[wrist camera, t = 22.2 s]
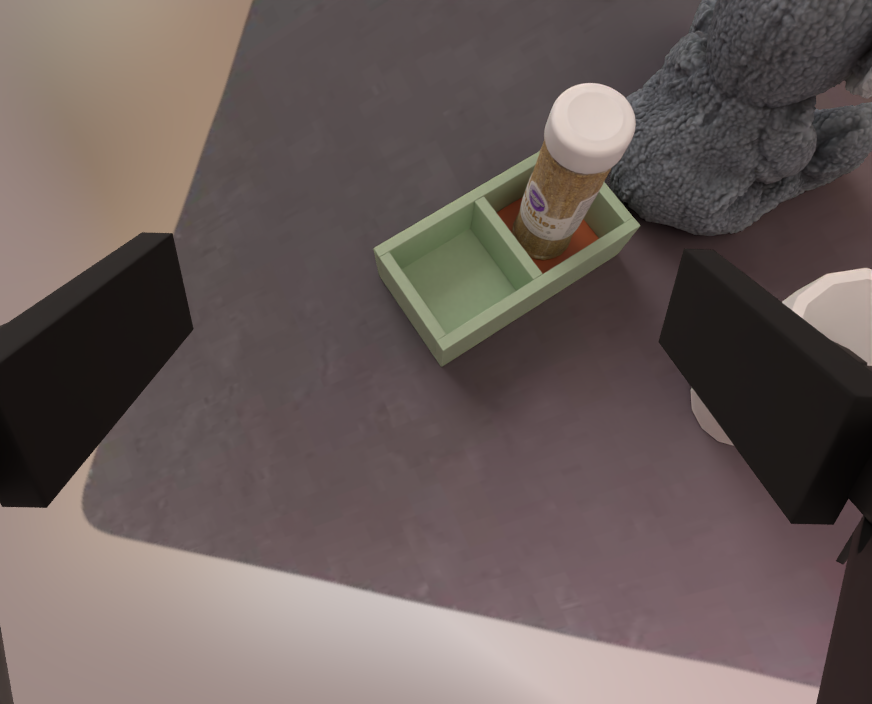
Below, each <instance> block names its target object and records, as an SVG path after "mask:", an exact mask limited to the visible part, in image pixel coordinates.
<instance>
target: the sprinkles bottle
mask: <svg viewBox="0 0 872 704" xmlns="http://www.w3.org/2000/svg"><path fill="white" fill-rule="evenodd" d="M635 127H636V120H635V114H634V111H633V109H632V107H631V105H630V103H629V102H628V101H627V99H626V98H625V97H624V96H623V95H622V94H620V93H619V92H617V91H616V90H614V89H612V88H610V87H608V86H605V85H602V84H596V83H585V84H580V85H576V86H573V87H571V88H569V89H567V90H566V91H564V92H563V93H562V94H561V95H560V96H559V97H558V98H557V100H556V101H555V103H554V105H553V107H552V109H551V112H550V115H549V117H548V120H547V123H546V126H545V132H544V138H545V140H544V142H543V145H542V148H541V150H540V153H539V156H538V159H537V162H536V165H535V167H534V171H533V173H532V175H531V177H530V179H529V182H528V184H527V187H526V190H525V193H524V196H523V199H522V202H521V208H520V210H519V213H518V215H517V217H516V219H515V221H514V223H513V227H512V233H513V235H514V237H515V238H516V239H517V241H518V242H519V243H520V245H521V246H522V247H523V249H524V250H525V251H526V252H527V254H528V255H529V256H530V257H531V258H534V259H537V260H539V259H540V260H547V259H552V258H555V257H557V256H559V255H561V254H562V253H563V252H564V251H565V250H566V249H567V247H568V246H569V244H570V241H571V237H572V236H573V234H574V232H575V231H576V230H577V229H578V227H579V225H580V224H581V222H582V220H583V218H584V217H585V215H586V213H587V211H588V209H589V208H590V206H591V204H592V203H593V201H594V199H595V198H596V196H597V194H598V193H599V191H600V189H601V187H602V185H603V183H604V180H605V179H606V177H607V175H608V174H609V172H610V170H611V168H612V167H613V166H614V165H616V164H617V163H618V161H619V160H620V159H621V158H622V156H623V154H624V153H625V151H626V149H627V147H628V145H629V144H630V142H631V140H632V138H633V135H634V132H635Z"/></svg>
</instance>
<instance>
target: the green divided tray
mask: <svg viewBox="0 0 872 704" xmlns="http://www.w3.org/2000/svg"><path fill="white" fill-rule="evenodd" d="M539 153H540V151H539V152H537V153H536V154H534V155H532V156H530V157H529V158H527V159H525V160H524V161H522V162H520V163H518V164H517V165H515V166H513V167H512V168H510V169H508V170H507V171H505V172H503V173H501V174H500V175H498V176H496V177H495V178H493V179H491V180H489V181H488V182H486V183H484V184H483V185H481V186H479V187H477V188H476V189H474V190H472V191H471V192H469V193H467V194H466V195H464V196H462V197H460V198H459V199H457V200H455V201H454V202H452V203H450V204H448V205H447V206H445V207H443V208H442V209H440V210H438V211H437V212H435V213H433V214H431V215H430V216H428V217H426V218H425V219H423V220H421V221H419V222H418V223H416V224H414V225H413V226H411V227H409V228H407V229H406V230H404V231H402V232H401V233H399V234H397V235H396V236H394V237H392V238H390V239H389V240H387V241H385V242H384V243H382V244H380V245H378V246H377V247H375V248H374V249H373V250H374V254H375V259H376V264H377V268H378V273H379V276H380V278H381V279H382V281H383V282H384V284H385V285H386V287H387V288H388V289H389V291H390V292H391V294H392V295H393V297H394V298H395V300H396V301H397V303H398V304H399V306H400V307H401V309H402V310H403V312H404V313H405V315H406V316H407V317H408V319H409V320H410V322H411V323H412V325H413V326H414V328H415V329H416V331H417V332H418V334H419V335H420V337H421V338H422V340H423V341H424V343H425V344H426V345H427V347H428V348H429V350H430V351H431V353H432V354H433V356H434V357H435V359H436V360H437V362H438V363H439V365H440V366H441V367H443V366H444V365H446V364H447V363H449V362H450V361H452V360H453V359H455V358H457V357H458V356H460V355H461V354H463V353H464V352H466V351H468V350H469V349H471V348H472V347H474V346H475V345H477V344H478V343H480V342H482V341H483V340H485V339H486V338H488V337H489V336H491V335H493V334H494V333H496V332H497V331H499V330H500V329H502V328H503V327H505V326H507V325H508V324H510V323H511V322H513V321H514V320H516V319H518V318H519V317H521V316H522V315H524V314H525V313H527V312H528V311H530V310H532V309H533V308H535V307H536V306H538V305H539V304H541V303H542V302H544V301H546V300H547V299H549V298H550V297H552V296H553V295H555V294H557V293H558V292H560V291H561V290H563V289H564V288H566V287H567V286H569V285H571V284H572V283H574V282H575V281H577V280H578V279H580V278H582V277H583V276H585V275H586V274H588V273H589V272H591V271H592V270H594V269H596V268H597V267H599V266H600V265H602V264H603V263H605V262H607V261H608V260H610V259H611V258H613V257H614V256H616V255H617V254H618V253H619V252H620V251H621V250H622V248H623V247H624V246H625V245H626V243H627V242H628V241H629V240H630V238H631V237H632V236H633V234H634V233H635V232H636V231H637V229H638V228H639V227H640V225H639V223H638V222H637V221H636V220H635V218H634V217H633V216H632V215H631V214H630V212H629V211H628V210H627V209H626V208H625V206H624V205H623V204H622V203H621V202H620V200H619V199H618V198H617V197H616V195H615V194H614V193H613V192H612V191H611V189H610V188H609V187H608V186H607V185H606V183H605V182H604V183H603V185H602V187H601V189H600V191H599V193H598V194H597V196H596V198H595V199H594V201H593V203H592V204H591V206H590V208H589V209H588V211H587V213H586V215H585V217H584V218H583V220H582V222H581V224H580V225H579V227H578V229H577V230H576V231H575V232H574V234H573V236H572V237H571V241H570V244H569V246H568V247H567V249H566V250H565V251H564V252H563V253H562V254H561V255H559V256H557V257H555V258H552V259H547V260H540V259H539V260H537V259H534V258H531V257H530V256H529V255H528V254H527V252H526V251H525V250H524V249H523V247H522V246H521V245H520V243H519V242H518V241H517V239H516V238H515V237H514V235H513V233H512V227H513V223H514V221H515V219H516V217H517V215H518V213H519V210H520V208H521V202H522V199H523V196H524V193H525V190H526V187H527V184H528V182H529V179H530V177H531V175H532V173H533V171H534V167H535V165H536V162H537V159H538V156H539Z"/></svg>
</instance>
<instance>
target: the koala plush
mask: <svg viewBox="0 0 872 704" xmlns="http://www.w3.org/2000/svg"><path fill="white" fill-rule="evenodd" d="M844 80H845V81H846V86H845V87H846V90H847V91H850V93H852V94H853V95H855V94H859V95H860V96H862V97H863V98H864V97H865V98H869V97H871V96H872V0H702V1H701V3H700V4H699V7H698V9H697V11H696V14H695V16H694V20H693V23H692V25H691V27H690V30H689V33H688V35H687V36H686V37H682V38H681V39H680V40H679V42H678V43H677V44H676V45H674V46H673V47H672V48H671V50H670V53H669V54H667V55H666V57H665V63H664V66H662V68H661V69H660V70H659V71H658V72H656V74H655V75H653V76H652V77H651V78H650V80H648V81H647V82H646V83H645V84H644V85H643V88H642V89H639V90H638V91H637V92H633V93H632V94H631V95H629V96H628V97H626V99H627V101H628V102H629V103H630V105H631V107H632V109H633V111H634V114H635V120H636V127H635V132H634V135H633V138H632V140H631V142H630V144H629V145H628V147H627V149H626V151H625V153H624V154H623V156H622V158H621V159H620V160H619V161H618V163H617V164H616V165H614V166H613V167H612V168H611V169H612V171H611V176H610V178H611V179H610V181H611V183H610V184H611V187H610V189H611V190H612V191H614V192H615V194H616V195H617V197H618V198H620V200H621V201H623V202H627V203H628V207H630V208H631V209H633V210H634V211H635V212H636V213H638V214H639V217H640V218H642V219H645V221H649V222H655V223H661V224H665V225H669V226H674V227H675V228H677V229H681V230H684V231H687V232H688V233H692V234H694V235H706V236H713V235H714V236H715V235H717V234H718V235H720V234H727V233H730V234H732V233H737V232H739V231H743V230H744V229H745V228H746V227H748V226H751V225H752V223H753V222H754V221H755V222H756V221H757V220H759V219H760V217H761V216H762V215H763V214H764V213H767V212H769V211H770V210H771V209H774V208H776V206H778V204H779V203H781V202H783V201H786V200H789V199H792V198H793V197H796V196H798V195H799V194H802V193H804V191H805V190H807V191H808V190H812V189H815V188H817V187H820V186H821V185H823V186H824V185H825V184H826V183H831V182H832V181H834V180H835V179H836V178H838V177H841V176H842V175H843V174H848V173H850V172H851V171H853V170H854V169H856V168H858V167H859V166H860V164H861V163H863V162H864V159H865V158H866V157H867V156H868V154H869V153H870V152H871V151H872V102H869V103H861V104H860V105H856V106H853V105H851V106H844V107H838V108H832V109H822V110H819V109H816V108H815V104H816V96H815V95H818V94H820V93H824V92H826V91H827V90H828V89H830V88H832V87H835V86H836V85H837V84H840V83H841V82H842V81H844ZM814 110H815V111H814Z"/></svg>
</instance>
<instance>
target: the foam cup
mask: <svg viewBox="0 0 872 704" xmlns="http://www.w3.org/2000/svg"><path fill="white" fill-rule="evenodd" d="M782 303H783V304H785V305H786V306H787V307H788V308H790V309H791V310H792V311H794V312H795V313H796V314H798V315H799V316H800V317H801V318H803V319H804V320H805V321H807V322H808V323H809V324H811V325H812V326H813V327H814V328H816V329H817V330H818V331H820V332H821V333H822V334H824V335H825V336H826V337H827V338H829V339H830V340H832V341H834V342H836V343H838V344H840V345H842V346H844V347H846V348H848V349H850V350H851V351H852V352H854V353H855V354H856V355H858V356H859V357H860V358H862V359H863V360H864V361H866V362H867V366H872V269H868V268H862V269H855V270H849V271H843V272H836V273H830V274H826V275H824V276H822V277H820V278H819V279H817V280H815V281H813V282H811V283H810V284H808V285H806V286H804V287H802V288H801V289H799V290H797V291H796V292H794V293H793V294H792V295H790V296H789V297H788V298H786V299H785V300H784V301H782ZM690 392H691V407H692V411H693V413H694V415H695V417H696V419H697V421H698V422H699V424H700V426H701V428H702V429H703V430H705V431H706V432H707V433H708V434H709V435H711V436H712V437H713V438H714V439H716V440H717V441H718V442H722V443H725V444H729V445H732V446H734V445H733V443H732V442H731V440H730V439H729V438H728V436H727V435H726V434H725V432H724V431H723V429H722V428H721V427H720V425H719V424H718V423H717V421H716V420H715V419H714V417H713V416H712V414H711V413H710V412H709V410H708V409H707V408H706V406H705V405H704V403H703V402H702V401H701V399H700V398H699V397H698V395H697V394H696V392H695V391H694V390H693V388H691V390H690Z"/></svg>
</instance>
